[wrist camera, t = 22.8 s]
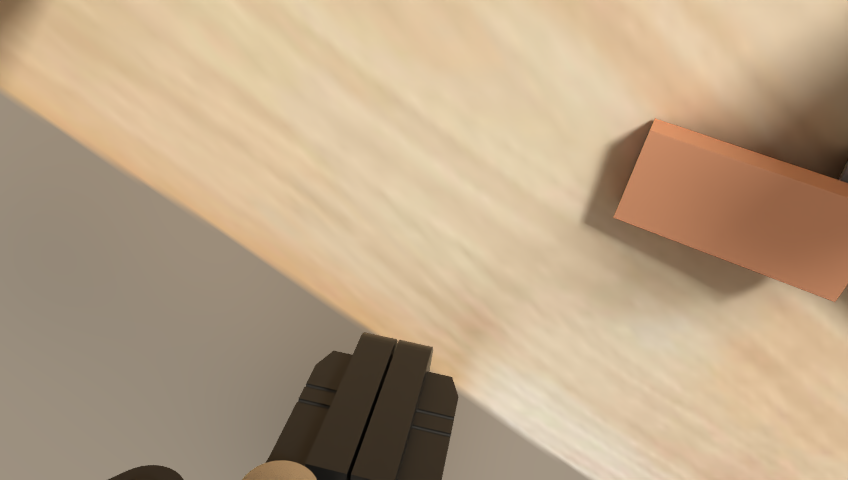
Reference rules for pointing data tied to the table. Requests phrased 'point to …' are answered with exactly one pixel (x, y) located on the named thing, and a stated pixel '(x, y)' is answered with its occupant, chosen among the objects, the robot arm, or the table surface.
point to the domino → (741, 208)
